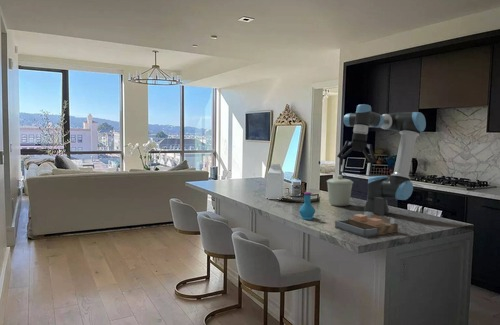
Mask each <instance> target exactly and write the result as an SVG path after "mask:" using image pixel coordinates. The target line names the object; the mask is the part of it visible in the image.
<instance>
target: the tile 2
mask: <svg viewBox="0 0 500 325" xmlns="http://www.w3.org/2000/svg"><path fill="white" fill-rule="evenodd" d="M368 224H371V225H374V226H377V225H382V220H381V219H377V218H370V219H368Z"/></svg>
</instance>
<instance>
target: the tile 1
mask: <svg viewBox="0 0 500 325" xmlns="http://www.w3.org/2000/svg"><path fill="white" fill-rule="evenodd" d="M352 218H353V220H357V221H367V216H366V215H364V214H361V213H357V214H353V217H352Z"/></svg>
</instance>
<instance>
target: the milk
mask: <svg viewBox="0 0 500 325" xmlns="http://www.w3.org/2000/svg"><path fill="white" fill-rule="evenodd" d="M284 175H285V174H284V171H283V168H282V166H281V164H280V163H271V165H270V167H269V169H268V171H267V173H266V182H265V183H266V184H265V195H264V196H265V197H264V198H268V199H267V200H269V199H277V198H281V197H282V196H284V197H285V176H284Z"/></svg>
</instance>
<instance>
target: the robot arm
mask: <svg viewBox="0 0 500 325" xmlns="http://www.w3.org/2000/svg"><path fill="white" fill-rule="evenodd" d="M355 110H356V111H355V112H353V113H352V112H350V113H346V114H345V115H343V124H344V126H345V127H350V128H351V127H353V129H352V132H353V133H352V137H351V141H349V140H346V141H344V142H345V143H344V145H343V147H342V149H341V150H340V151H339V152H338V154H337V158H339V166H340V172H344V167H345V162H346V161H345V160H346V159H344V158H345V157H347V156H348V155H349V154H350V153H351V152H353V151H354V152H360V153H361V152H362V154H364V156H365V157H366V159H367V161H368V162H367V167H366V173H365V174H366V176H370V171H371V170H372V169H373V164H374V163H377V162H378V161H377V157H376V155H375V153H374V150H373V144H372V143H370V144H369V143H367V141H368V133H369V128H378V129H379V128H381V130H382V129H383V130H389V131H394V132H399V135H400V140H399V145H398V149H397V155H396V158H395V159H396V161H395V163H394V167H393V168H394V170H393V173H391V174H390V176H388V175H378V176H377V175H376V176H375V175H374V176H370V177H368V179H367V197H366V198H367V200H366V202H365V206H364V209H363V213H364V212H367V211H368V212H372V213H374V198H375V197H380V198H384V216H387V215H389V214H390V207H389V206H388V199H394V200H399V201H400V200H401V201H407V200H408V199H409V198H410V197H411V196H412V194H413V192H414V191H413V190H414V184H413V182H412V181H411V177H410V171H411V165H412V160H413V157H414V156H413V155H414V152H415V146H416V140H417V138H418V137H420V135H421V132H424V131H425V130H426V127H427V121H426V117H425V115H424V114H423V113H422V112H419V111H412V112H411V111H410V112H408V111H406V112H393V113H383V114H380V113H377V112H374V111H372V107H371V104H370V105H369V104H365V103H363V104H358V105H356V109H355ZM348 146H351V148H349V149H348V150H347V151H345V150H346V148H348ZM366 148H367V149H368V151H367V150H366ZM344 152H345V153H344ZM368 152H369V153H368ZM343 153H344V154H343Z"/></svg>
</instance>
